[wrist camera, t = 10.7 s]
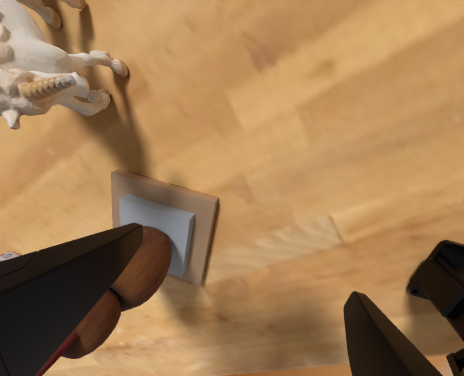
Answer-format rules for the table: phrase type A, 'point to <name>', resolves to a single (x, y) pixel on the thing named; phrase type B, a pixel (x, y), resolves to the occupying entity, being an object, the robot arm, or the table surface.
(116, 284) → the wooden figurine
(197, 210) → the plinth
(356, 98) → the table surface
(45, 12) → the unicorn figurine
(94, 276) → the robot arm
